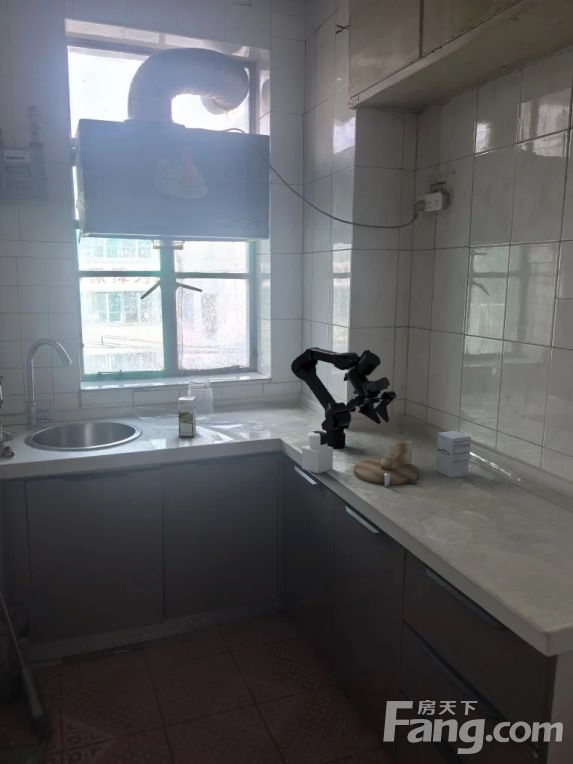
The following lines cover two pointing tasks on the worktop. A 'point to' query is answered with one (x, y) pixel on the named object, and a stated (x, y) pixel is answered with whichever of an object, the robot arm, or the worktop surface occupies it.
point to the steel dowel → (387, 480)
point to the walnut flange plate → (379, 475)
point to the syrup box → (187, 416)
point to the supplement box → (453, 453)
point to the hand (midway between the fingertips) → (383, 422)
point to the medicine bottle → (317, 453)
